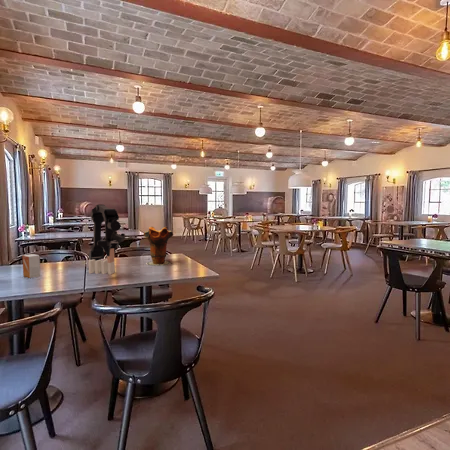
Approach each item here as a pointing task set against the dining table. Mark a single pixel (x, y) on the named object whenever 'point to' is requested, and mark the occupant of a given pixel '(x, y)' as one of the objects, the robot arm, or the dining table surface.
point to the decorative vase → (158, 245)
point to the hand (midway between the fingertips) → (110, 255)
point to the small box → (31, 265)
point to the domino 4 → (111, 256)
